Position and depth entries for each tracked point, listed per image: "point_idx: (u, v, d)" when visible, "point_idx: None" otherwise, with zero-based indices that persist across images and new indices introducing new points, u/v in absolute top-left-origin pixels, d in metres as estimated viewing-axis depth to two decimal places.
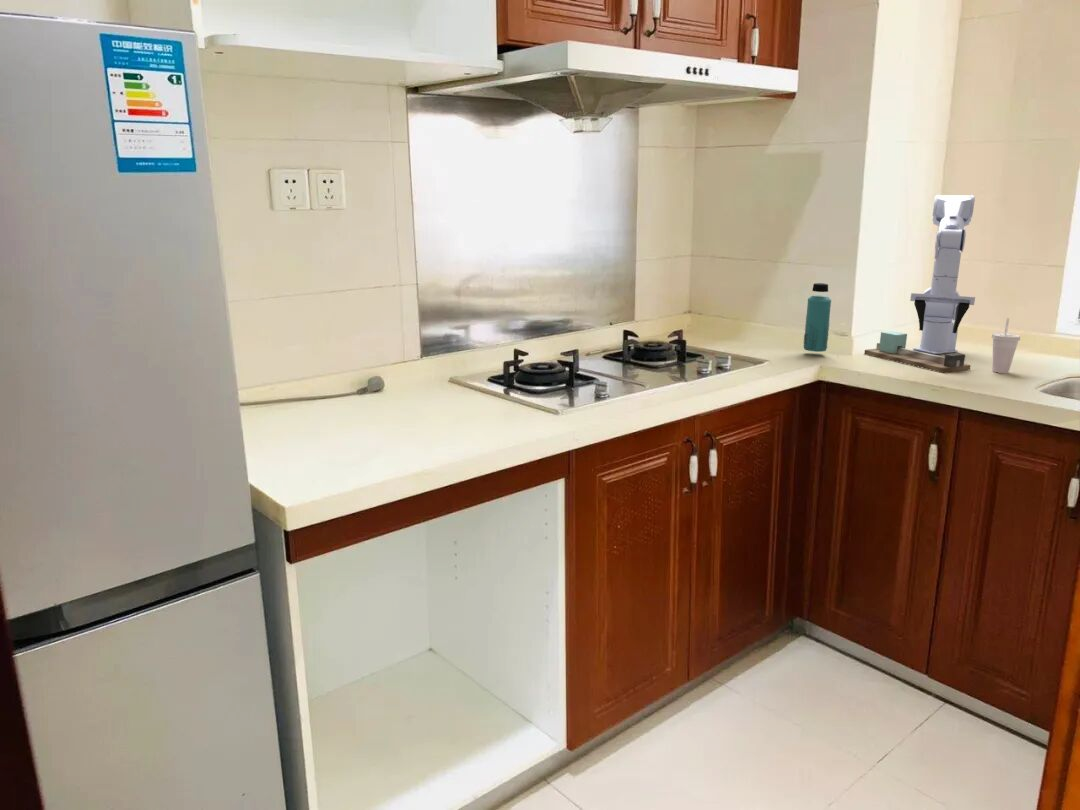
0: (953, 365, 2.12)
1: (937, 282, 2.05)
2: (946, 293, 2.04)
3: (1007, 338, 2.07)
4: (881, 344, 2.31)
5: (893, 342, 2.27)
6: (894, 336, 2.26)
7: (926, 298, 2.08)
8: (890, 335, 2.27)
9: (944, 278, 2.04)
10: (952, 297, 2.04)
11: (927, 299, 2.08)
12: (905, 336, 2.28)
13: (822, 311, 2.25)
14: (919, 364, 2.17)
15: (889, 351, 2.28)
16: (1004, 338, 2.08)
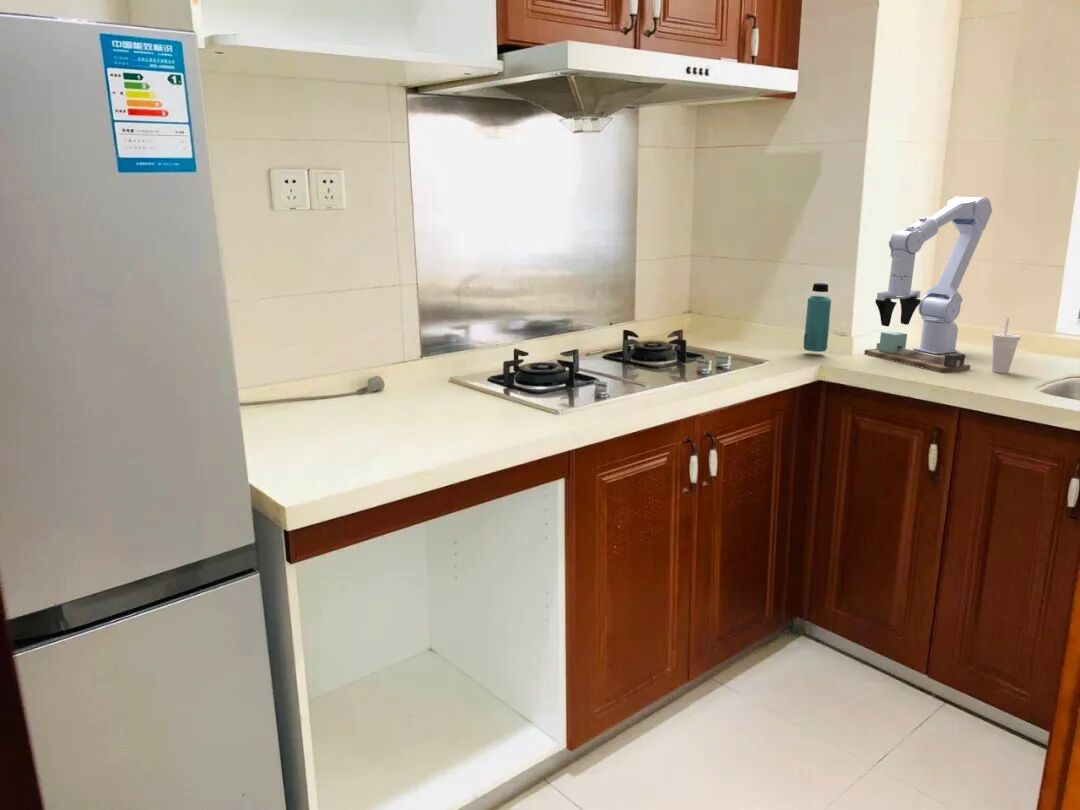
0: (953, 365, 2.12)
1: (902, 282, 2.23)
2: (909, 291, 2.24)
3: (1007, 338, 2.07)
4: (881, 344, 2.31)
5: (893, 342, 2.27)
6: (894, 336, 2.26)
7: (890, 296, 2.24)
8: (890, 335, 2.27)
9: (908, 278, 2.22)
10: None
11: (890, 297, 2.25)
12: (905, 336, 2.28)
13: (822, 311, 2.25)
14: (919, 364, 2.17)
15: (889, 351, 2.28)
16: (1004, 338, 2.08)
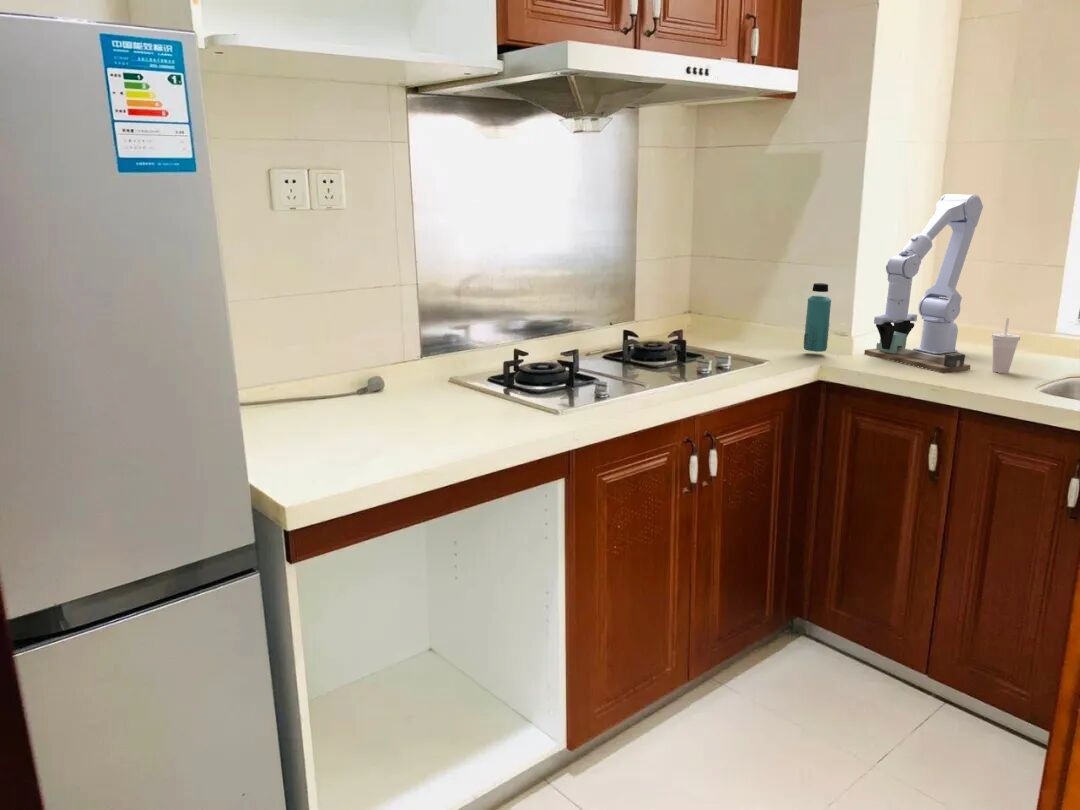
0: (953, 365, 2.12)
1: (899, 306, 2.24)
2: (906, 315, 2.25)
3: (1007, 338, 2.07)
4: (881, 344, 2.31)
5: (893, 342, 2.27)
6: (894, 336, 2.26)
7: (887, 320, 2.26)
8: None
9: (905, 302, 2.24)
10: None
11: (887, 321, 2.26)
12: (905, 336, 2.28)
13: (822, 311, 2.25)
14: (919, 364, 2.17)
15: (889, 351, 2.28)
16: (1004, 338, 2.08)
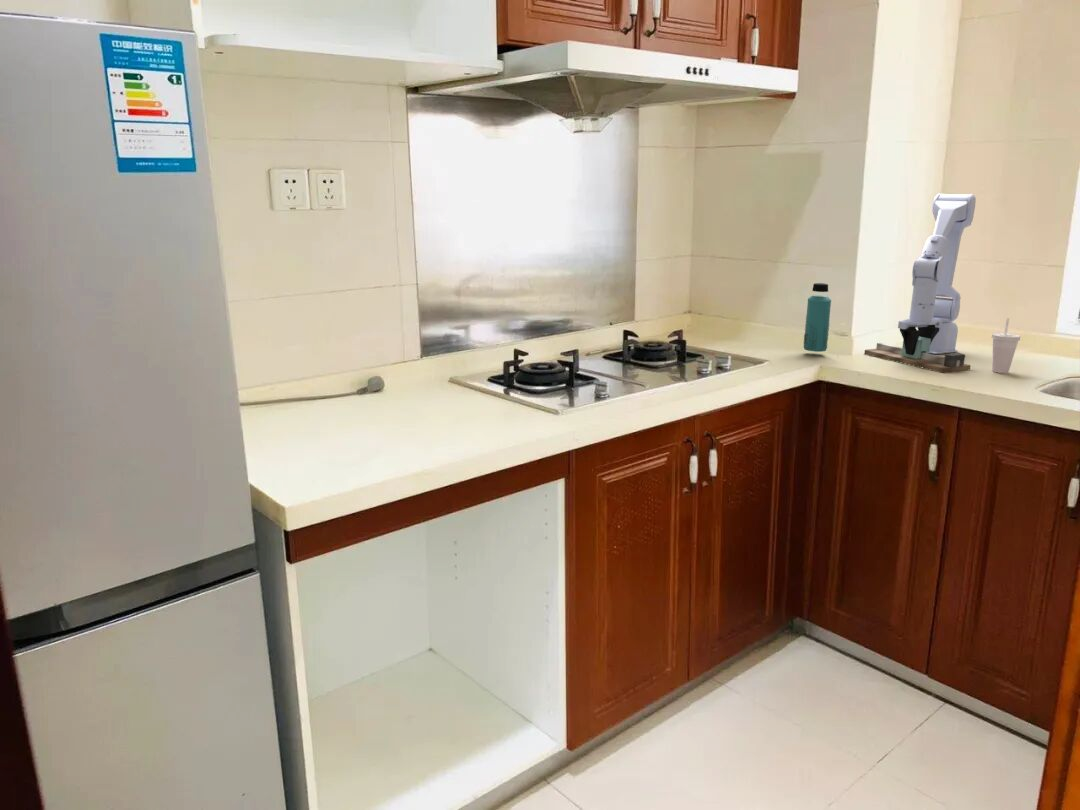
0: (953, 365, 2.12)
1: (924, 310, 2.17)
2: (931, 320, 2.18)
3: (1007, 338, 2.07)
4: (904, 349, 2.24)
5: (916, 347, 2.20)
6: (917, 341, 2.20)
7: (911, 324, 2.19)
8: None
9: (930, 306, 2.17)
10: None
11: (912, 325, 2.19)
12: (929, 341, 2.21)
13: (822, 311, 2.25)
14: (919, 364, 2.17)
15: (912, 356, 2.22)
16: (1004, 338, 2.08)
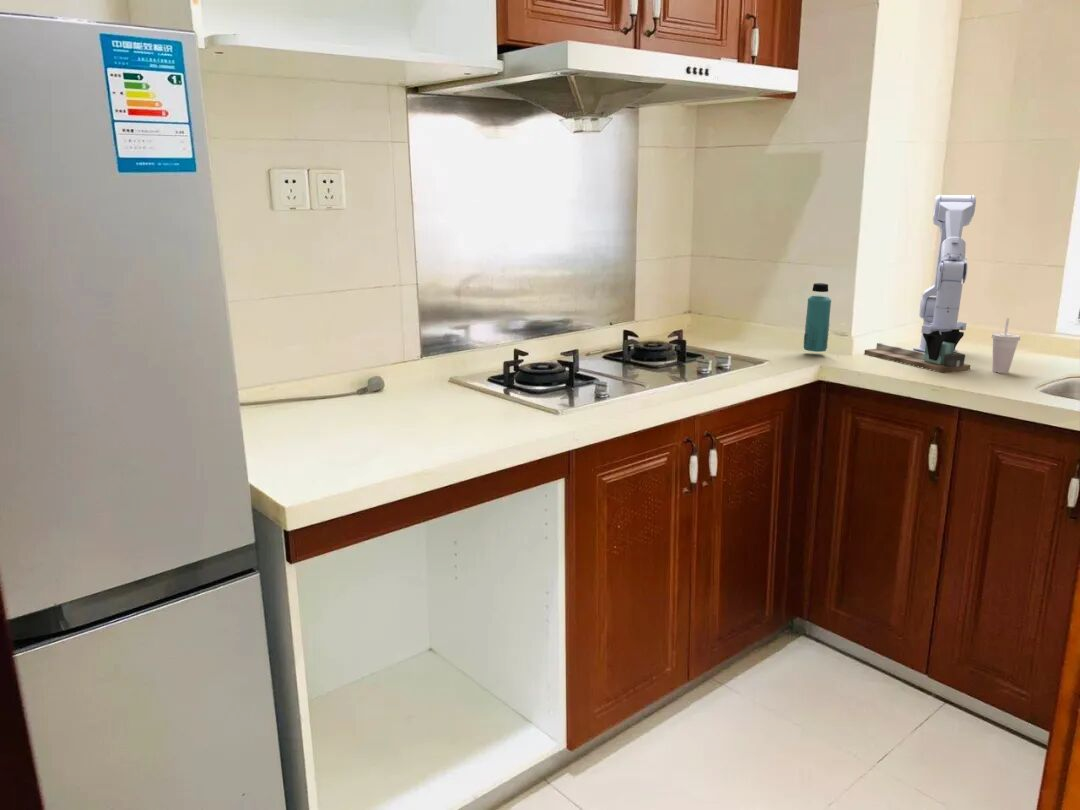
0: (953, 365, 2.12)
1: (948, 314, 2.11)
2: (955, 324, 2.12)
3: (1007, 338, 2.07)
4: (926, 354, 2.18)
5: (940, 352, 2.14)
6: (941, 346, 2.13)
7: (935, 329, 2.13)
8: None
9: (955, 310, 2.11)
10: None
11: (936, 330, 2.13)
12: (952, 346, 2.15)
13: (822, 311, 2.25)
14: (919, 364, 2.17)
15: (935, 362, 2.15)
16: (1004, 338, 2.08)
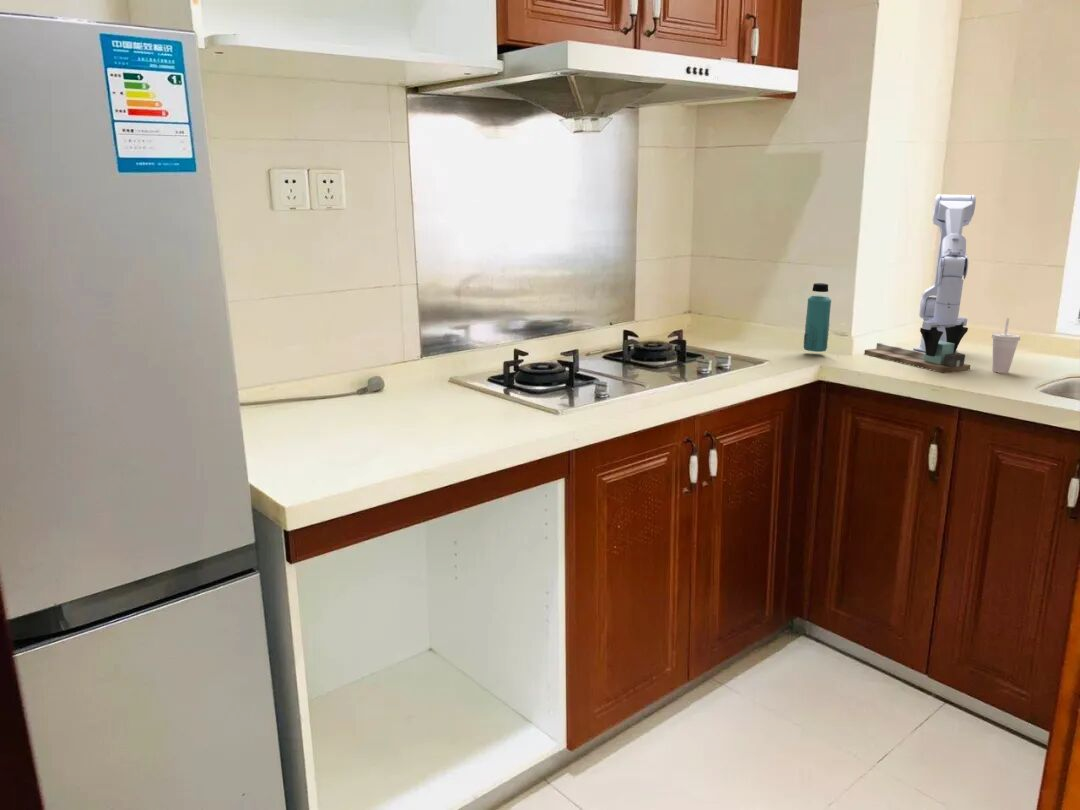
0: (953, 365, 2.12)
1: (949, 310, 2.11)
2: (956, 320, 2.12)
3: (1007, 338, 2.07)
4: None
5: (940, 352, 2.14)
6: (941, 346, 2.13)
7: (936, 325, 2.13)
8: None
9: (956, 306, 2.10)
10: None
11: (936, 326, 2.13)
12: (952, 346, 2.15)
13: (822, 311, 2.25)
14: (919, 364, 2.17)
15: (935, 362, 2.15)
16: (1004, 338, 2.08)
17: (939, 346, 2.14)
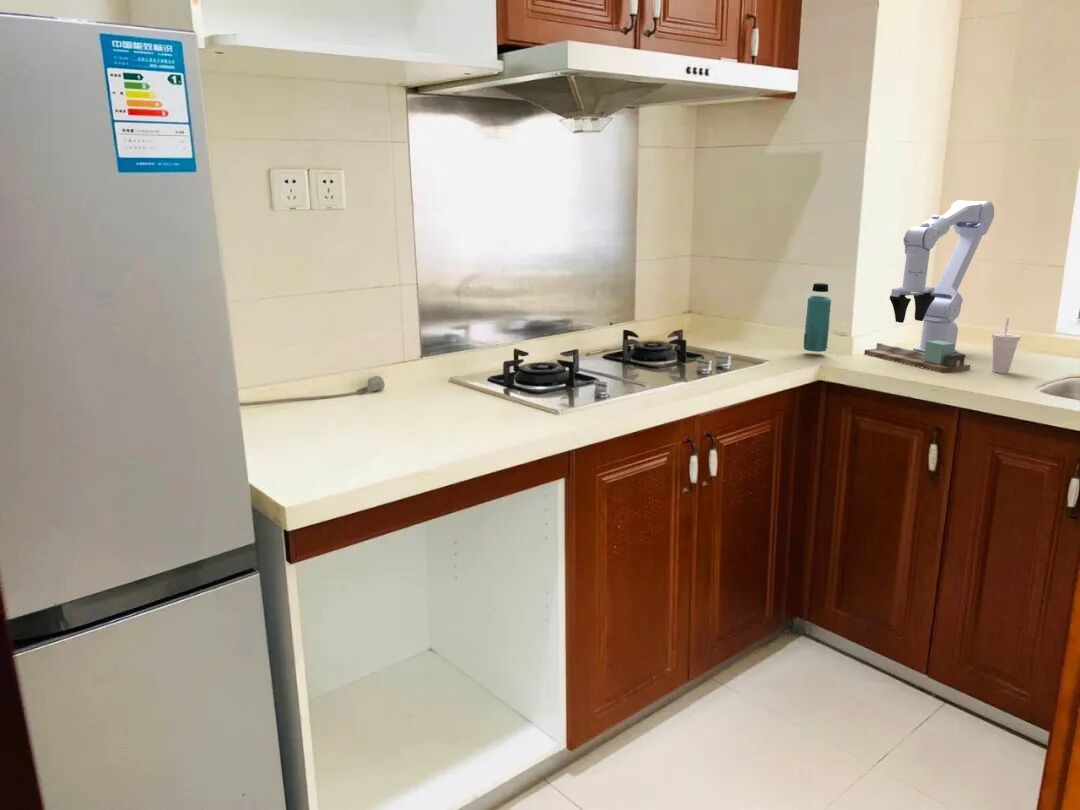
0: (953, 365, 2.12)
1: (917, 278, 2.22)
2: (923, 287, 2.23)
3: (1007, 338, 2.07)
4: (926, 354, 2.18)
5: (940, 352, 2.14)
6: (941, 346, 2.13)
7: (904, 292, 2.24)
8: (937, 345, 2.14)
9: (923, 274, 2.22)
10: None
11: (905, 293, 2.24)
12: (952, 346, 2.15)
13: (822, 311, 2.25)
14: (919, 364, 2.17)
15: (935, 362, 2.15)
16: (1004, 338, 2.08)
17: (939, 346, 2.14)
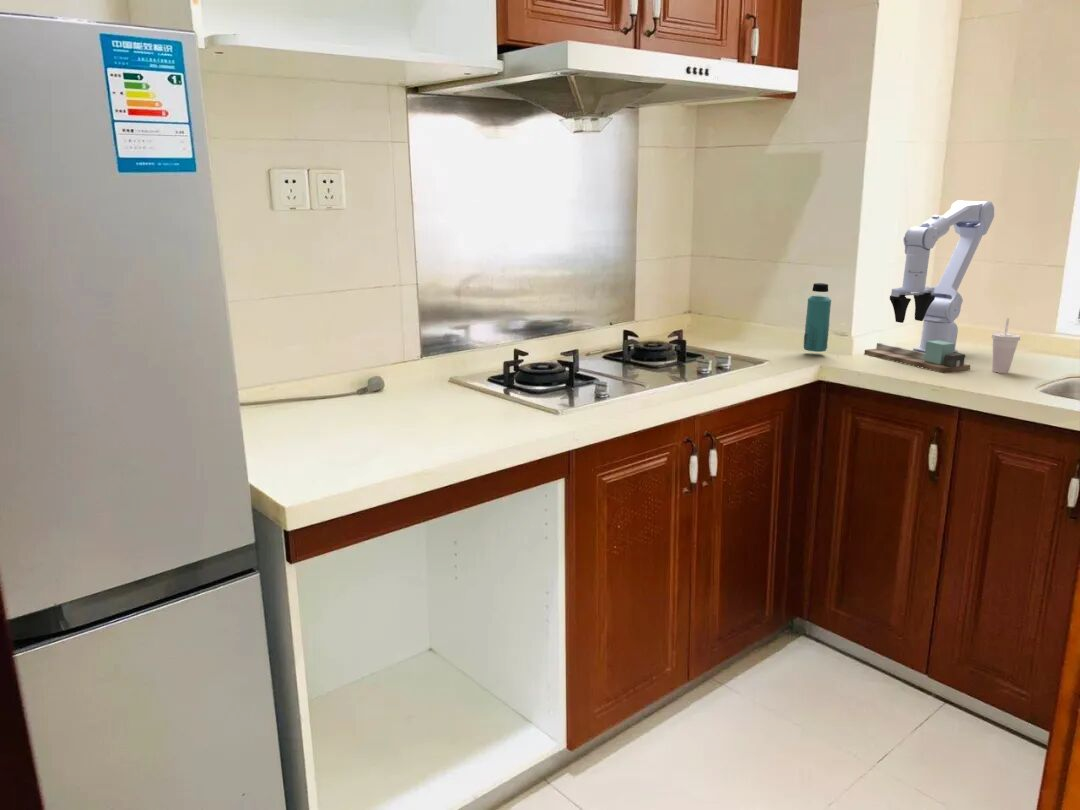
0: (953, 365, 2.12)
1: (917, 278, 2.22)
2: (923, 287, 2.23)
3: (1007, 338, 2.07)
4: (926, 354, 2.18)
5: (940, 352, 2.14)
6: (941, 346, 2.13)
7: (904, 292, 2.24)
8: (937, 345, 2.14)
9: (923, 274, 2.22)
10: None
11: (905, 293, 2.24)
12: (952, 346, 2.15)
13: (822, 311, 2.25)
14: (919, 364, 2.17)
15: (935, 362, 2.15)
16: (1004, 338, 2.08)
17: (939, 346, 2.14)
